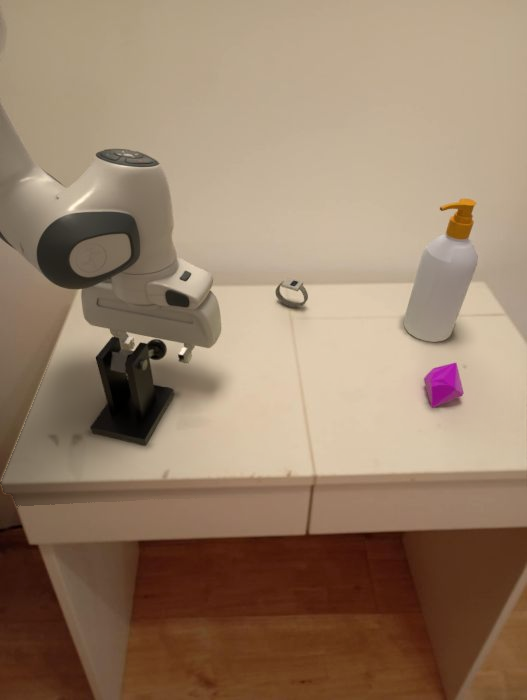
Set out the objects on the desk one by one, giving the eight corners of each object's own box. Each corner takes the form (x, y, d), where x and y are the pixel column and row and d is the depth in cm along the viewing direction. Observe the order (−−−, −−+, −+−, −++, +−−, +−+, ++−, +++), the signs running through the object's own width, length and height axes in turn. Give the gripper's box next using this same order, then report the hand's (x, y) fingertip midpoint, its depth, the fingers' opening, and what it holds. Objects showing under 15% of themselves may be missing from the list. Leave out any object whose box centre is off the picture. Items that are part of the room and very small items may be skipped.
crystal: (418, 383, 74) (425, 362, 71) (451, 383, 75) (460, 361, 72) (428, 408, 70) (437, 386, 67) (463, 407, 71) (473, 385, 68)
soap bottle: (389, 321, 87) (422, 195, 71) (429, 309, 90) (468, 186, 74) (420, 349, 81) (462, 218, 65) (461, 335, 84) (511, 208, 69)
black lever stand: (125, 383, 72) (112, 322, 64) (174, 394, 71) (166, 332, 63) (91, 432, 65) (72, 369, 57) (145, 445, 63) (132, 382, 56)
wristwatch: (272, 304, 90) (274, 282, 86) (278, 297, 91) (280, 275, 88) (302, 313, 88) (305, 291, 84) (308, 306, 89) (310, 283, 86)
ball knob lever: (149, 356, 73) (151, 336, 72) (168, 360, 72) (171, 339, 72) (105, 372, 60) (108, 348, 60) (128, 377, 60) (131, 352, 59)
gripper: (62, 275, 62) (84, 354, 71) (208, 301, 59) (212, 381, 68) (87, 253, 67) (104, 330, 76) (224, 276, 64) (225, 354, 73)
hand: (156, 354), depth 72 cm, fingers open, 8 cm apart
